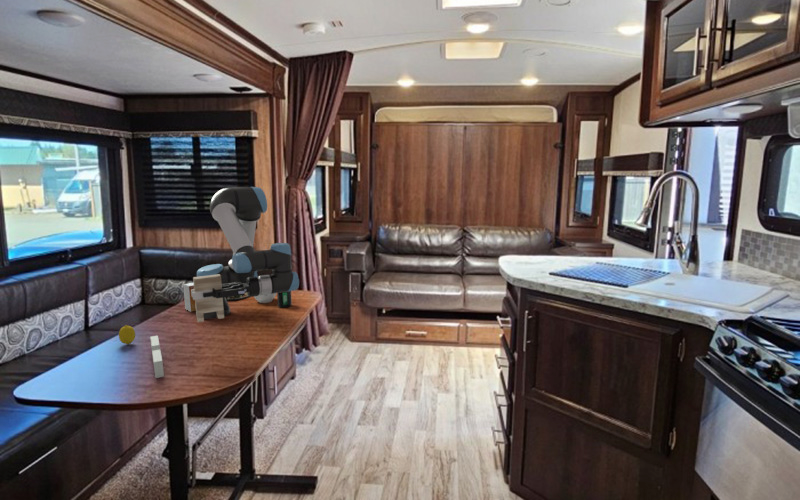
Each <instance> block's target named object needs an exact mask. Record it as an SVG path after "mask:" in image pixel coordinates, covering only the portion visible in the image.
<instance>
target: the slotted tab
mask: <svg viewBox="0 0 800 500" xmlns="http://www.w3.org/2000/svg"><path fill="white" fill-rule="evenodd" d="M192 280H193V282H192V283H194V292H197V291H205V290H212V292H213V288H214V289H215V290H218V289H222V283H221V276H220V274H217V275H208V276H199V277H197V276H193V277H192ZM195 305H196V311H195V317H196V321H197V323H201V322H204V321H205V319H204V316H203V313H209V312H215V311H217V317H218V318H217V319H219V320H220V319H221V320H222V319H225V316H224V308H223V298H216V297H215V298H214V297H211V298H204V299H196V300H195Z"/></svg>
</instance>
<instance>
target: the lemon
mask: <svg viewBox="0 0 800 500" xmlns="http://www.w3.org/2000/svg"><path fill="white" fill-rule="evenodd" d="M118 339H119V341H120V342H121V343H123V344H124V345H125V344H126V345H127V346H128V345H130V344H131V343H133V342H134V341H135V339H136V331H135V329H134V327H133V326H130V325H127V324H125V325H124V326H122V327H121V328H120V329H119V331H118Z"/></svg>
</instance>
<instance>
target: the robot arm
mask: <svg viewBox="0 0 800 500" xmlns="http://www.w3.org/2000/svg"><path fill="white" fill-rule="evenodd" d="M209 211H210V215H211V216H212V218H213V219H214V221H216V222H217V223H218V225H219V226H220V229H221V231H222V233H223V234H224V236H225V238H226V241H227V243H228V244H229V247H230V248H231V251H232V257H231V259H230V260H229V261H228V265H226V266H224V265H223V264H222V263H221V264H220V263H216V264H214V263H213V264H209V265H205V266H202V267H201V268H199V269H198V270H197V271H196V277H199V276H208V275H217V274H220V276H221V283H222V289H218V290H215V289H214V288H213V292H212V290H205V291H197V292H194V289H192V290H191V296H192V297H193V300H196V299H204V298H211V297H214V298H215V297H216V298H223V308H224V317H226V316H229V315H230V313H231V307H230V305H229V301H227V300H226V298H225V297H232V296H242V297H245V296H246V295H245V293H247V294H248V296H249V297H248V298H252V297H254V296H258V295H259V294H260V295H265V296H267V295H268V294H273V293H276V294H277V293H281V292H288V291H291V292H292V291H293V292H294V291H297V290H298V289H299V286H300V279H299V275H298V273H297V272H296V271H293V269H292V268H293V266H292V249H291V245H290V244H289V243H288V242H276V243H272V244H271V245H270V249H266V250H256V249H255V248H254V242H255V235H256V229H257V228H256V227H257V221H260V219H261V217H262V216H261V215H262V214H265V213H266V212H267V211H268V201H267V197H266V194H265V191H264V189H262V188H261V187H259V186H248V187H247V186H246V187H245V186H244V187H243V186H240V187H237V186H236V187H224V188H221V189H220V190H217V192H215V194H214V195H213V196H212V197H211V200H210V202H209ZM267 270H271V271H272V274H264V275H258V272H261V271H267ZM203 316H204V320H209V319H210V320H211V319H218V317H217V311H215V312H209V313H203Z"/></svg>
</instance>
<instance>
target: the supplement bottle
mask: <svg viewBox="0 0 800 500" xmlns="http://www.w3.org/2000/svg"><path fill="white" fill-rule="evenodd" d="M276 297H277V307H278V308H281V309H287V308H290V307H292V304H293V301H292V291H288V292H281V293H276Z"/></svg>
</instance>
